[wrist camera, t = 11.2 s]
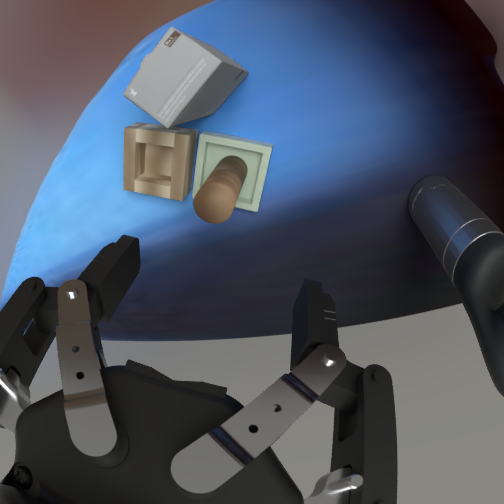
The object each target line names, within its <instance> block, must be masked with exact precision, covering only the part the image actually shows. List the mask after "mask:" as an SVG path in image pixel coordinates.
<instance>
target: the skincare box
mask: <svg viewBox="0 0 504 504" xmlns="http://www.w3.org/2000/svg"><path fill="white" fill-rule="evenodd" d="M248 73H249V72H248V71H247V70H246V69H244V68H243V67H242V66H241V65H239V64H238V63H237V62H235V61H234V60H232V59H231V58H230V57H228V56H227V55H225V54H224V53H222V52H221V51H219V50H218V49H216V48H214V47H213V46H211V45H209V44H207V43H204V42H203V41H200V40H198V39H196V38H194V37H192V36H189V35H188V34H185V33H183V32H181V31H179V30H177V29H175V28H173V27H171V28H170V29H169V30H168V31H167V32H166V34H165V35H164V36H163V37H162V39H161V40H160V41H159V43H158V44H157V45H156V47H155V48H154V49H153V51H152V52H151V53H150V54H148V55H147V56H146V57H145V58H144V59H143V60H142V62H141V65H140V69H139V70H138V71H137V73H136V74H135V76H134V77H133V79H132V80H131V82H130V83H129V85H128V87H127V88H126V90H125V91H124V93H123V96H124V97H126V98H127V99H128V100H130V101H131V102H133V103H134V104H135V105H137V106H138V107H140V108H141V109H142V110H144V111H145V112H146V113H148V114H149V115H150V116H152V117H153V118H155V119H156V120H157V121H159V122H160V123H161V124H163V125H164V126H165V127H166V128H170V127H173V126H176V125H179V124H182V123H185V122H189V121H192V120H196V119H199V118H202V117H206V116H210V115H213V114H214V113H215V112H216V111H217V110H218V109H219V108H220V106H221V105H222V104H223V103H224V102H225V101H226V100H227V99H228V97H229V96H230V95H231V94H232V93H233V92H234V91H235V89H236V88H237V87H238V86H239V85H240V83H241V82H242V81H243V80H244V79H245V77H246V76H247V75H248Z"/></svg>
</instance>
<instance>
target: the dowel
mask: <svg viewBox="0 0 504 504" xmlns="http://www.w3.org/2000/svg"><path fill="white" fill-rule="evenodd" d="M247 172H248V169H247V165H246V163H245V162H244V160H242V159H241V158H240V157H237V156H233V155H230V156H226V157H224V158H222V159H221V160H220V162H219V163H218V164H217V166H216V167H215V168H214V170H213V171H212V172H211V174H210V175H209V177H208V178H207V179H206V181H205V182H204V184H203V185H202V186H201V188H200V189H199V191H198V192H197V194H196V195H195V197H194V201H193V206H194V210H195V212H196V213H197V215H198V216H199V217H200V218H201V219H203V220H204V221H206V222H209V223H214V224H217V223H222V222H224V221H226V220H227V219H229V217H230V216H231V215H232V212H233V210H234V207H235V205H236V202H237V199H238V197H239V194H240V191H241V189H242V186H243V184H244V181H245V179H246V176H247Z"/></svg>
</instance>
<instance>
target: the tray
mask: <svg viewBox="0 0 504 504" xmlns="http://www.w3.org/2000/svg"><path fill="white" fill-rule="evenodd" d="M272 147H273V144H270V143H266V142H261V141H256V140H252V139H247V138H242V137H237V136H232V135H226V134H221V133H215V132H209V131H203V132H202V133H201V134H200V137H199V144H198V152H197V160H196V168H195V177H194V186H193V195H192V198H194V197H195V195H196V194H197V192H198V191H199V189H200V188H201V186H202V185H203V184H204V182H205V181H206V179H207V178H208V177H209V175H210V174H211V172H212V171H213V170H214V168H215V167H216V166H217V164H218V163H219V162H220V160H221V159H222V158H224V157H226V156H230V155H233V156H237V157H240V158H241V159H242V160H244V162H245V163H246V165H247V169H248V172H247V176H246V179H245V181H244V184H243V186H242V189H241V191H240V194H239V197H238V199H237V202H236V205H235V207H237V208H241V209H246V210H250V211H255V212H257V211H258V207H259V203H260V199H261V194H262V190H263V186H264V181H265V177H266V173H267V168H268V164H269V160H270V155H271V151H272Z"/></svg>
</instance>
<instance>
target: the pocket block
mask: <svg viewBox="0 0 504 504" xmlns="http://www.w3.org/2000/svg"><path fill="white" fill-rule="evenodd" d="M197 133H198V130H196V129H189V128H182V127H175V126H173V127H170V128H166V127H165V126H164V125H158V124H149V123H138V122H137V123H135V124H132V125H130V126H128V127H125V130H124V190H127V191H133V192H138V193H143V194H148V195H153V196H159V197H164V198H169V199H173V200H178V201H183V200H184V199H185V197H186V196H187V195H188V193H189V192H190V191H191V183H192V174H193V165H194V156H195V148H196V141H197Z"/></svg>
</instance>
